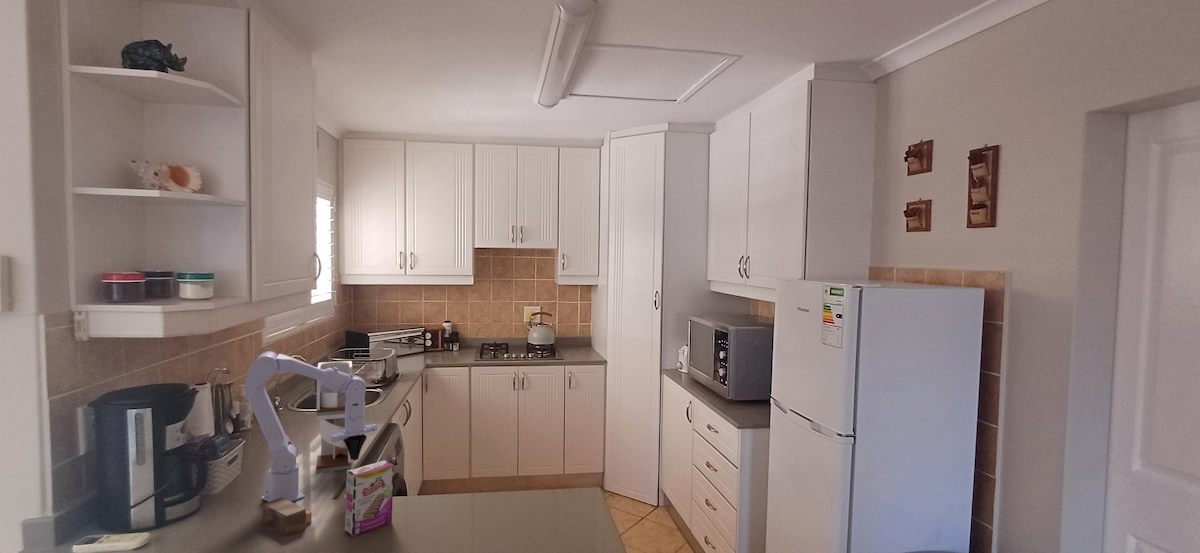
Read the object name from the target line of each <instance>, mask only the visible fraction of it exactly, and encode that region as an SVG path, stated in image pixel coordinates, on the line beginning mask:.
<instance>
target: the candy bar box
mask: <svg viewBox="0 0 1200 553" xmlns="http://www.w3.org/2000/svg"><path fill="white" fill-rule="evenodd" d="M345 473H346V476H345V477H346V478H345V509H344V510H345V512H344V513H345V516H344V532H346V533H347V534H348V535H350V536H351V537H357V536H359V535H360V534H364V533H367V532H369V531H372V530H375V529H377V528H380V527H383V526H385V525H388V524H391V523H392V522H393V493H394V492H393V491H394V490H393V489H394V487H393V486H394V464H393V463H391V462H390V461H388V460H381V461H378V462H373V463H370V464H367V465H362V466H360V467H355V468H351V469H346V472H345Z"/></svg>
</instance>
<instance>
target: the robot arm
mask: <svg viewBox="0 0 1200 553" xmlns="http://www.w3.org/2000/svg"><path fill="white" fill-rule="evenodd" d="M317 367H318V366H314V365H312V364H309V363H307V362H305V361H301V360H299V359H298V358H297V359H296V358H294V357H291V356H289V355H286V354H284V353H283V354H282V353H276V352H275V351H271V350H270V351H269V350H267V351H264V352H262V353H260V354H259V355H258V356H257V357H256V359H255V360H254V361H253V363H252V364H251V365H250V367H249V368H248V372H247V374H246V378H245V382H244V386H243V391H244V394H245V397H246V398H247V400H248V403H249V404H250V407H251V409H252V412H253V414H254V416H255V418H256V420H257V423H258V424H259V427H260V429H261V431H262V433H263V435H264V436H263V437H264V438H265V441H266V442H267V445H268V451H269V454H270V456H271V462H270V465H271V466H270V468H269V469H267V471H266V473H265V476H264V495H262V496H261V499H262V500H264V501H266V502H270V501H273V500H276V499H279V498H284V499H286V500H288V501H291V502H294V501H297V500H300V499H304V498H305V495H304V494H303V493H301V492H299V484H300V483H299V476H300V475H299V474H300V471H299V469H300V468H299V467H300V466H299V464H298V463H297V457H298V453H299V449H298V446H297V445H296V444H295V443H293V442H292V441H291V440H290V437H289V436H288V435H287V434H286V432H285V430H284V427H283V425H282V423H281V420H280V419H279V417H278V414H277V412H276V410H275V408H274V405H273V403H272V401H271V399H270V396H269V394H268V392H267V390H266V385H267V383H268V381H269V380H270V379H271V378H272V377H273V376H275V374H276V373H277V371H278V375H282V374H287V373H294V374H296V375H301V376H304V377H306V378H311V379H314V380H316V381H317V380H318V381H319V383H320V385H321V386H324V387H327V388H330V389H333V390H336V391H339V392H345V393H346V402H345V430H343V431H341V432H339V433H336V434H334V435H331V442H334V443H336V442H338V441H340V440H343V441H344V442H345V444H346V446H347V448H348V451H349V454H350V458H351V461H358V460H359V456H360V453H361V450H362V448H363V445H364V444H365V442H366V441H367V435H366V434H368V433H371V432H377V431H378V424H375V423H372V424H371V423H370V424H366V400H365V399H366V396H365V393H366V392H367V388H366V387H367V386H366V382H365V380H364V379H363V378H362V377H360V376H359V375H358V374H357V375H356V374H355V375H354V374H353V373H352V374H351V373H350V375H349V374H346V373H343V372H340V371H338V368H336V367H334V368H333V369H332V368H327V369H324V370H322V369H320V368H317Z"/></svg>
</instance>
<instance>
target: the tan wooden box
mask: <svg viewBox="0 0 1200 553" xmlns="http://www.w3.org/2000/svg"><path fill="white" fill-rule="evenodd" d="M306 510H307V508H305V507H303V506H301V505H299V504H297V503H295V502H294V501H292V502H291V501H288V500H286V499H284V498H279V499H276V500H273V501H270V502H268V501H266V502H265V503H262V523H263V524H265V525H266V526H267V527H269V528H272V529H273V530H275V531H277V532H278V533H281V534H283V535H284V536H286V537H287V536H290V535H292V534H294V533H298V532H300V531H301V530H305V529H307V528H306V527H307V524H306Z"/></svg>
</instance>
